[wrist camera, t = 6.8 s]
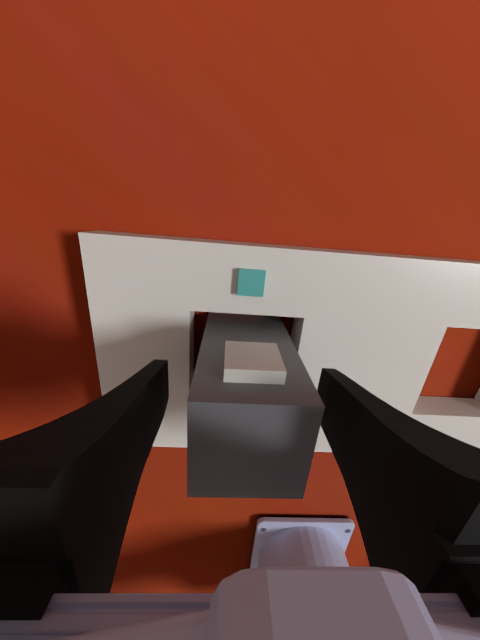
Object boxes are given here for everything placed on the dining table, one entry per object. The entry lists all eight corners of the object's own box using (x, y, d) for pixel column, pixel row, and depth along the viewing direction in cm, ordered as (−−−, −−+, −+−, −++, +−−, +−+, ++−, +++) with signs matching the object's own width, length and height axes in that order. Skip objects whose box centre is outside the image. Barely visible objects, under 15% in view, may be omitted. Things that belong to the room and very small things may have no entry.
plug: (271, 376, 16) (302, 498, 9) (207, 373, 16) (187, 496, 9) (280, 307, 14) (328, 392, 7) (209, 303, 14) (186, 387, 7)
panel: (517, 437, 18) (551, 463, 16) (121, 422, 17) (106, 449, 15) (620, 272, 14) (683, 280, 12) (98, 230, 12) (73, 232, 10)
